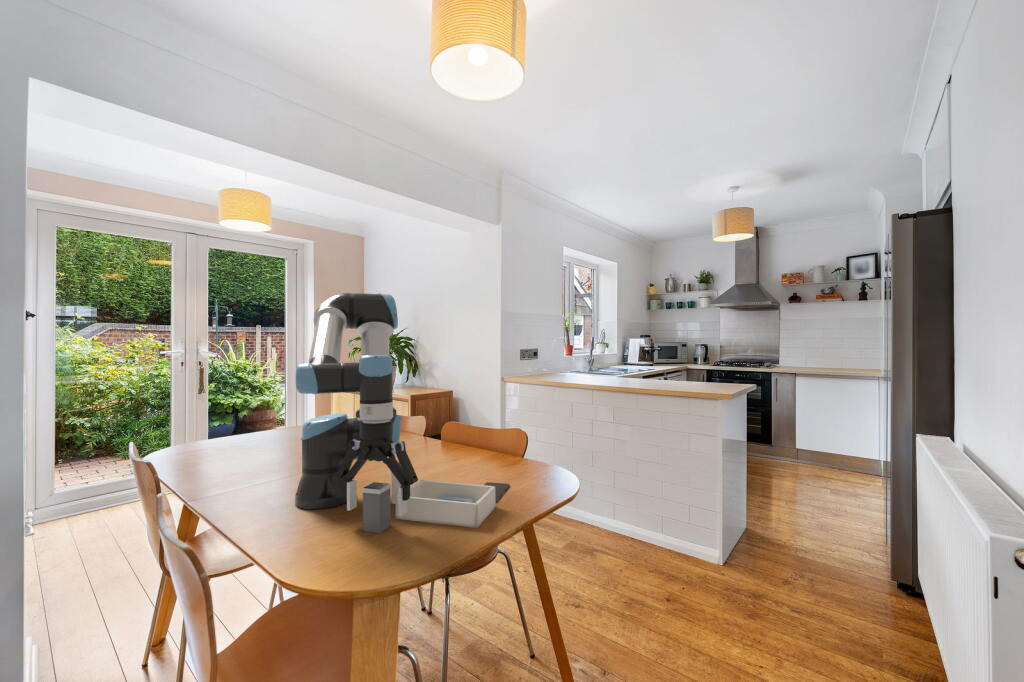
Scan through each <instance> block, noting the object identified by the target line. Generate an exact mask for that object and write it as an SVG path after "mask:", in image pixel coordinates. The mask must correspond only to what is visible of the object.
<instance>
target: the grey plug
mask: <svg viewBox="0 0 1024 682" xmlns="http://www.w3.org/2000/svg"><path fill="white" fill-rule="evenodd" d="M391 489H392V483H388V482H387V483H386V482H378V481H377V482H376V481H372V482H371V483H369V484H368V485H365V486H363V487H362V491H361V492H362V532H365V533H372V534H373V533H374V534H382V533H383V532H384V531H385V530H387V529H388V528H390V527H391V524H392V523H391V520H392V519H391V517H392V516H391V515H392V514H391V512H392V511H391V505H392V496H391Z"/></svg>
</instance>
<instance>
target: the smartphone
mask: <svg viewBox="0 0 1024 682" xmlns="http://www.w3.org/2000/svg"><path fill="white" fill-rule="evenodd" d="M483 485H486V486H495V497H496V504H497V503H498V502H499V501H500V500H501V498H502V497H503V496H504V494H505V493H506V492H507V490H508V489H509V488H510V484H509V483H505V482H504V483H503V482H492V481H491V482H485V483H484V484H483Z"/></svg>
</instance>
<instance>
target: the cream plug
mask: <svg viewBox="0 0 1024 682" xmlns="http://www.w3.org/2000/svg"><path fill="white" fill-rule="evenodd" d="M397 462H398V463H399V461H397ZM399 464H400V463H399ZM400 466H401V465H400ZM390 472H391V471H390ZM390 475H391V478H390V479H391V505H392V504H395V496H397V495H398V487H399V486H401V484H400V483H399V482H398V480H397V479H396V477H395V476H394V475H393V473H392V472H391V474H390ZM411 486H412V485H410V487H411Z"/></svg>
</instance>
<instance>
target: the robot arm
mask: <svg viewBox="0 0 1024 682" xmlns="http://www.w3.org/2000/svg"><path fill="white" fill-rule="evenodd" d="M313 325H314V327H315V328H314V334H313V338H312V344H311V348H310V352H309V358H308V362H305V363H299V364H298V365H297V366H296V369H295V387H296V391H297V393H299V394H304V395H306V394H311V395H319V394H321V395H322V394H335V393H336V394H339V393H340V394H341V393H342V394H343V393H359V408H358V409H357V410H356V411H355V417H351V418H349V416H348V414H347V413H345V412H342V413H341V412H339V413H331V414H324V415H320V416H317V417H313V418H310V419H308V420H306V421H305V422H304V423H303V424H302V429H301V430H302V431H301V437H300V440H301V466H302V467H301V476H300V479H299V483H298V485H297V490H296V492H295V496H294V504H295V506H296V507H297V508H300V509H303V510H304V509H305V510H320V509H321V510H322V509H327V508H328V509H329V508H334V507H338V506H341V505H344V504H346V511H348V512H349V511H350V512H351V511H352V510H353V509H355V508H357V507H358V502H357V500H358V496H357V495H358V491H357V490H358V485H357V484H358V483H357V482H358V481H357V479H355V477H356V475H357V474H358V473H359V472H360V471H361V469H362V468H363V466H364V465H365V464H366V463H367V462H368V461H369V462H372V461H375V462H378V463H379V462H382V463H383V464H384V465H386V466H387V467H388V469H389V470H390V472H392V473H393V475H394V476H395V477H396V479H397V480H398V482H399V483H400V484H401V486H399V487H398V516H402V515H404V514H405V513H406V512H407V500H408V499H409V498H410V485H411V486H413V485H414V484H416V483H417V482H419V477H418V475H417V473H416V470H415V468H414V467H413V464H412V461H411V459H410V457H409V455H408V452H407V450H406V449H407V448H406V442H405V441H403V440H402V441H401V440H400V439H401V430H402V418H403V417H402V416H401V415H399V414H397V409H396V408H395V407H394V402H393V401H394V399H393V390H394V389H393V384H394V382H393V380H394V379H393V371H394V365H393V358H392V356H391V355H390V337H391V336H392V335H394V334H393V333H394V330H396V329H398V326H399V318H398V309H397V303H396V300H395V298H394V297H393V296H392V295H391V294H386V293H380V292H379V293H359V292H358V293H357V292H354V293H353V292H342V293H337V294H335V295H332V296H331V297H328V298H327V299H325V300H324V301H323V302H322V303H321V304H319V306H318V307H317V309H316V311H315V313H314V316H313ZM345 329H352V330H354V329H355V333H356V334H357V335H358V337H360V358H359V361H358V362H341V356H342V355H341V353H342V342H343V333H344V331H345ZM396 458H397V459H396ZM354 461H355V462H354ZM398 462H399V463H400V464H399V463H398ZM353 463H354V464H353ZM400 465H401V466H400Z"/></svg>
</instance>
